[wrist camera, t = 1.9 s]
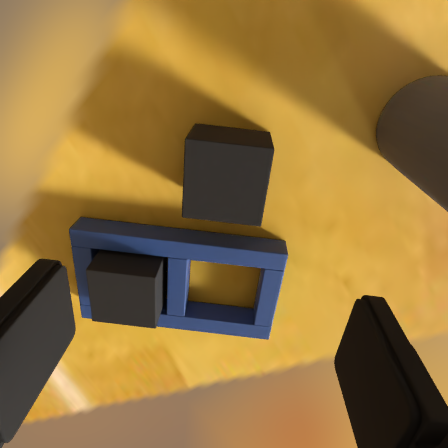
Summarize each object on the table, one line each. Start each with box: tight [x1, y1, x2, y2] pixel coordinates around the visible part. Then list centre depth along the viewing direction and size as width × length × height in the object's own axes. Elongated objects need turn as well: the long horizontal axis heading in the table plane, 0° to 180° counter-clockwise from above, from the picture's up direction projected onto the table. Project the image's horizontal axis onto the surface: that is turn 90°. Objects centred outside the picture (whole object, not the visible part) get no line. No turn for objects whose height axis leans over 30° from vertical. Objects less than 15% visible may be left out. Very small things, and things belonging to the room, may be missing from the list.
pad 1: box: [86, 249, 167, 328], centre depth 26 cm, size 5×5×4 cm
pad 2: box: [182, 124, 274, 226], centre depth 21 cm, size 5×5×4 cm
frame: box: [69, 217, 288, 339], centre depth 27 cm, size 9×16×2 cm, turn 84°
